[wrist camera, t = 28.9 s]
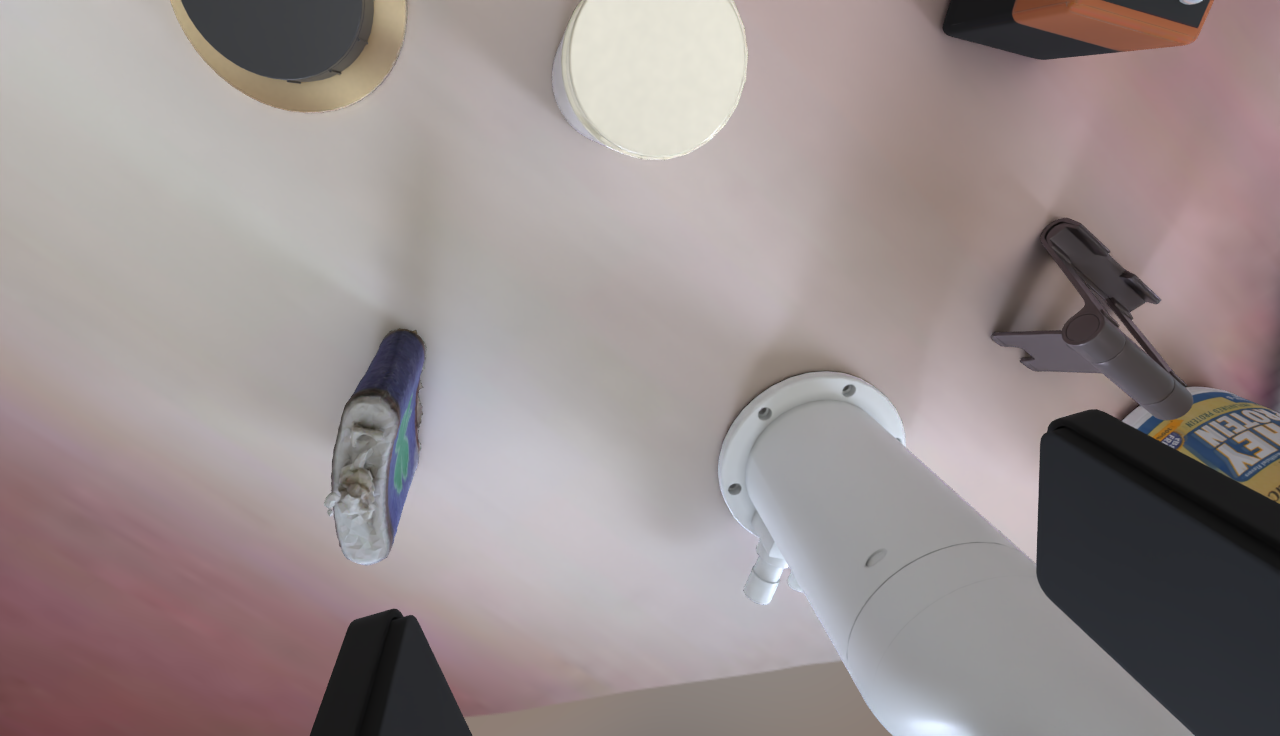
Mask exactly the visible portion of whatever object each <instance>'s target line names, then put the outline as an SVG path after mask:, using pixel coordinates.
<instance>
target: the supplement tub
mask: <svg viewBox="0 0 1280 736" xmlns="http://www.w3.org/2000/svg"><path fill="white" fill-rule="evenodd" d="M1186 388H1187V390H1188V391H1189V392H1190V393H1191V395H1192V396H1193V405H1192V407H1191V409H1190V410H1189V411H1188V412H1187V413H1186V414H1185V415H1184V416H1182V417H1180V418H1177V419H1174V420H1160V419H1157V418H1155V417H1154V416H1153V415H1152V414H1150V413H1149V412H1148V411H1147V410H1146V409H1144V408H1143V407H1142V406H1141V405H1140V406H1139V407H1137V408H1136V409H1135V410H1133V411H1132V412H1131V413H1130V414H1129V415H1128V416H1127V417H1125V418H1124V419H1123V420H1122V422H1124V423H1126V424H1128V425H1130V426H1132V427H1134V428H1136V429H1137V430H1139V431H1141V432H1143V433H1145V434H1147V435H1149V436H1151V437H1153V438H1155V439H1157V440H1159V441H1160V442H1162V443H1164V444H1166V445H1168V446H1170V447H1172V448H1174V449H1176V450H1178V451H1180V452H1182V453H1183V454H1185V455H1187V456H1189V457H1191V458H1193V459H1195V460H1197V461H1199V462H1201V463H1203V464H1204V465H1206V466H1208V467H1210V468H1212V469H1214V470H1216V471H1218V472H1220V473H1222V474H1224V475H1226V476H1227V477H1229V478H1231V479H1233V480H1235V481H1237V482H1239V483H1241V484H1243V485H1245V486H1247V487H1249V488H1250V489H1252V490H1254V491H1256V492H1258V493H1260V494H1262V495H1264V496H1266V497H1268V498H1270V499H1272V500H1273V501H1275V502H1277V503H1279V504H1280V413H1279V412H1276V411H1274V410H1271V409H1269V408H1266V407H1264V406H1261V405H1259V404H1256V403H1254V402H1252V401H1249V400H1247V399H1244V398H1242V397H1239V396H1237V395H1235V394H1233V393H1231V392H1228V391H1224V390H1220V389H1214V388H1208V387H1186Z"/></svg>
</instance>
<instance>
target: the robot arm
mask: <svg viewBox="0 0 1280 736" xmlns="http://www.w3.org/2000/svg"><path fill="white" fill-rule="evenodd" d="M762 408H763V410H761V409H762ZM760 410H761V411H760ZM718 478H719V485H720V490H721V492H722V495H723V498H724V500H725V503H726V505H727V506H728V508H729V510H730V512H731V514H732V515H733V517H734V518H735V519H736V520H737V521H738V522H739V524H740V525H741V526H742V527H743V528H745V529H746V530H747V531H749V532H750V533H752V534H753V535H754V536H756V537H759V538H760V540H759V542H758V545H757V547H756V551H757V554H758V555H759V557H758V559H757V562H756V564H755V565H754V566H753V568H752V570H751V573H750V575H749V577H748V580H747V582H746V584H745V586H744V590H743V591H744V593H745V595H746V596H747V597H748V598H749V599H750V600H751V601H753V602H755V603H757V604H761V605H766V604H769V603H770V601H771V599H772V597H773V595H774V593H775V590H776V588H777V586H778V584H779V582H780V576H781V574H782V571H783V569H784V568H790V569H791V573H790V575H789V578H788V580H787V583H788V585H789V586H790V587H791V588H792V589H794V590H795V591H798V592H804V594H805V596H806V598H807V599H808V601H809V603H810V605H811V606H812V608H813V610H814V612H815V614H816V615H817V617H818V619H819V621H820V622H821V624H822V626H823V628H824V629H825V631H826V633H827V635H828V636H829V638H830V640H831V642H832V643H833V645H834V647H835V649H836V651H837V652H838V654H839V656H840V658H841V659H842V661H843V663H844V665H845V666H846V668H847V670H848V672H849V673H850V675H851V677H852V679H853V681H854V683H855V684H856V686H857V688H858V690H859V691H860V693H861V695H862V696H863V698H864V700H865V702H866V704H867V705H868V707H869V708H870V710H871V711H872V712H873V714H874V715H875V717H876V718H877V719H878V720H879V721H880V723H881V724H882V725H883V726H884V727H885V728H886V729H887V730H888V731H889V732H890V733H891V734H892V735H893V736H1280V504H1279V503H1277V502H1275V501H1273V500H1272V499H1270V498H1268V497H1266V496H1264V495H1262V494H1260V493H1258V492H1256V491H1254V490H1252V489H1250V488H1249V487H1247V486H1245V485H1243V484H1241V483H1239V482H1237V481H1235V480H1233V479H1231V478H1229V477H1227V476H1226V475H1224V474H1222V473H1220V472H1218V471H1216V470H1214V469H1212V468H1210V467H1208V466H1206V465H1204V464H1203V463H1201V462H1199V461H1197V460H1195V459H1193V458H1191V457H1189V456H1187V455H1185V454H1183V453H1182V452H1180V451H1178V450H1176V449H1174V448H1172V447H1170V446H1168V445H1166V444H1164V443H1162V442H1160V441H1159V440H1157V439H1155V438H1153V437H1151V436H1149V435H1147V434H1145V433H1143V432H1141V431H1139V430H1137V429H1136V428H1134V427H1132V426H1130V425H1128V424H1126V423H1124V422H1122V421H1120V420H1118V419H1116V418H1114V417H1113V416H1111V415H1109V414H1107V413H1105V412H1102V411H1100V410H1097V409H1096V410H1087V411H1083V412H1080V413H1076V414H1073V415H1069V416H1066V417H1062V418H1059V419H1056V420H1054V421H1052V422H1051V424H1050V425H1049V427H1048V431H1047V433H1045V434H1044V435H1043V436H1042V438H1041V442H1040V470H1039V501H1038V532H1037V563H1035V562H1034V561H1033V560H1031V559H1030V558H1029V557H1028V556H1027V555H1026V554H1025V553H1024V552H1022V551H1021V550H1020V549H1019V548H1018V547H1017V546H1016V545H1015V544H1014V543H1012V542H1011V541H1010V540H1009V539H1008V538H1007V537H1006V536H1005V535H1003V534H1002V533H1001V532H1000V531H999V530H998V529H997V528H996V527H995V526H993V525H992V524H991V523H990V522H989V521H988V520H987V519H986V518H984V517H983V516H982V515H981V514H980V513H979V512H978V511H977V510H975V509H974V508H973V507H972V506H971V505H970V504H969V503H968V502H967V501H965V500H964V499H963V498H962V497H961V496H960V495H959V494H958V493H956V492H955V491H954V490H953V489H952V488H951V487H950V486H949V485H947V484H946V483H945V482H944V481H943V480H942V479H941V478H940V477H939V476H937V475H936V474H935V473H934V472H933V471H932V470H931V469H930V468H928V467H927V466H926V465H925V464H924V463H923V462H922V461H921V460H919V459H918V458H917V457H916V456H915V455H914V454H913V453H912V452H911V451H909V450H908V449H907V448H906V446H905V432H904V428H903V423H902V420H901V418H900V416H899V414H898V412H897V410H896V408H895V407H894V405H893V404H892V403H891V402H890V401H889V399H888V398H887V397H886V396H885V395H884V394H883V393H881V392H880V391H879V390H878V389H877V388H875V387H874V386H873V385H871V384H869V383H868V382H866V381H864V380H862V379H861V378H858V377H855V376H852V375H849V374H846V373H840V372H830V371H822V372H811V373H805V374H802V375H798V376H794V377H791V378H788V379H786V380H784V381H782V382H779V383H777V384H775V385H773V386H771V387H770V388H768V389H767V390H765V391H764V392H763V393H761V394H760V395H758V396H757V397H756V398H755V399H753V400H752V401H751V402H750V403H749V404H748V405H747V406H746V407H745V408H744V409H743V410H742V411H741V413H740V414H739V415H738V417H737V418H736V420H735V421H734V422H733V424H732V425H731V427H730V429H729V431H728V433H727V435H726V437H725V439H724V441H723V445H722V448H721V452H720V455H719V464H718ZM310 736H472V734H471V732H470V730H469V728H468V726H467V723H466V721H465V719H464V717H463V715H462V713H461V711H460V709H459V707H458V705H457V702H456V700H455V698H454V696H453V694H452V692H451V690H450V688H449V686H448V684H447V681H446V679H445V677H444V675H443V673H442V671H441V669H440V667H439V665H438V663H437V660H436V658H435V656H434V654H433V652H432V650H431V648H430V646H429V644H428V642H427V639H426V637H425V635H424V633H423V631H422V629H421V627H420V625H419V623H418V621H417V619H416V618H415V617H414V616H413V615H409V616H406V617H403V615H402V613H401V612H400V611H399V610H397V609H391V610H387V611H384V612H380V613H377V614H373V615H370V616H366V617H363V618H359V619H356V620H354V621H353V622H351V624H350V626H349V627H348V630H347V632H346V635H345V638H344V641H343V644H342V646H341V649H340V652H339V655H338V658H337V661H336V663H335V666H334V669H333V672H332V675H331V677H330V680H329V683H328V686H327V689H326V691H325V694H324V697H323V700H322V703H321V705H320V708H319V711H318V714H317V717H316V720H315V722H314V725H313V728H312V731H311V734H310Z"/></svg>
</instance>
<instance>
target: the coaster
mask: <svg viewBox="0 0 1280 736" xmlns="http://www.w3.org/2000/svg"><path fill="white" fill-rule="evenodd" d="M170 1H171V4H172V7H173V9H174V12H175V14H176V17H177V19H178V21H179V23H180V25H181V27H182V29H183V31H184V33H185V35H186V36H187V38H188V39H189V41H190V42H191V44H192V45H193V47H194V48H195V50H196V51H197V52H198V53H199V55H200V56H201V57H202V58H203V60H204V61H205V62H206V63H207V64H208V65H209V66H210V67H211V68H212V69H213V70H214V71H215V72H216V73H217V74H218V75H219V76H220V77H222V78H223V79H224V80H225V81H227V82H228V83H229V84H230V85H232V86H233V87H235V88H236V89H238V90H239V91H241V92H242V93H244V94H245V95H247V96H249V97H251V98H253V99H255V100H257V101H259V102H261V103H264V104H267V105H270V106H272V107H275V108H279V109H283V110H288V111H293V112H303V113H319V112H328V111H334V110H338V109H341V108H344V107H347V106H350V105H352V104H354V103H356V102H358V101H360V100H362V99H363V98H365V97H366V96H368V95H369V94H370V93H372V92H373V91H374V90H375V89H376V88H377V87H378V86H379V85H380V84H381V83H382V82H383V81H384V80H385V78H386V77H387V76H388V74H389V73H390V71H391V70H392V68H393V66H394V64H395V63H396V61H397V58H398V56H399V53H400V51H401V48H402V44H403V40H404V36H405V30H406V21H407V3H406V0H375V1H374V15H373V24H372V28H371V33H370V36H369V38H368V41H367V42H368V45H367V44H366V45H365V47H364V49H363V51H362V52H361V54H360V55H359V56H358V58H357V59H356V60H355V61H354V62H353V63H352V64H351V65H350V66H349V67H348V68H346V69H345V70H343V71H342V72H341V73H342V74H340V75H339V74H336V75H334V76H332V77H330V78H327V79H324V80H319V81H313V82H301V84H297V83H289V82H287V80H280V79H272V78H268V77H264V76H260V75H257V74H255V73H252V72H249V71H247V70H245V69H243V68H241V67H239V66H237V65H236V64H234V63H233V62H231V61H230V60H228V59H227V58H225V57H224V56H223V55H221V54H220V53H219V52H218V51H217V50H215V49H214V48H213V47H212V46H211V45H210V44H209V43H208V42H207V41H206V40H205V39H204V37H203V36H202V35H201V34H200V32H199V31H198V30H197V29H196V27H195V26H194V24H193V22H192V21H191V19H190V18H189V16H188V14H187V12H186V10H185V8H184V6H183V4H182V2H181V0H170Z"/></svg>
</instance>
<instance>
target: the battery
mask: <svg viewBox="0 0 1280 736" xmlns="http://www.w3.org/2000/svg"><path fill="white" fill-rule="evenodd" d="M1213 1H1214V0H951V2H950V5H949V8H948V11H947V14H946V18H945V21H944V24H943V31H944V32H945V33H946V34H947V35H949V36H952V37H956V38H960V39H964V40H967V41H971V42H975V43H979V44H982V45H986V46H990V47H994V48H998V49H1001V50H1005V51H1009V52H1013V53H1017V54H1020V55H1024V56H1028V57H1032V58H1036V59H1041V60H1045V59H1056V58H1066V57H1076V56H1085V55H1095V54H1105V53H1115V52H1125V51H1134V50H1144V49H1154V48H1164V47H1174V46H1183V45H1187V44H1190V43H1192V42H1194V41H1195V40H1196V39H1197V37H1198V35H1199V33H1200V31H1201V29H1202V26H1203V24H1204V22H1205V20H1206V17H1207V15H1208V13H1209V10H1210V8H1211V6H1212V4H1213Z"/></svg>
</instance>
